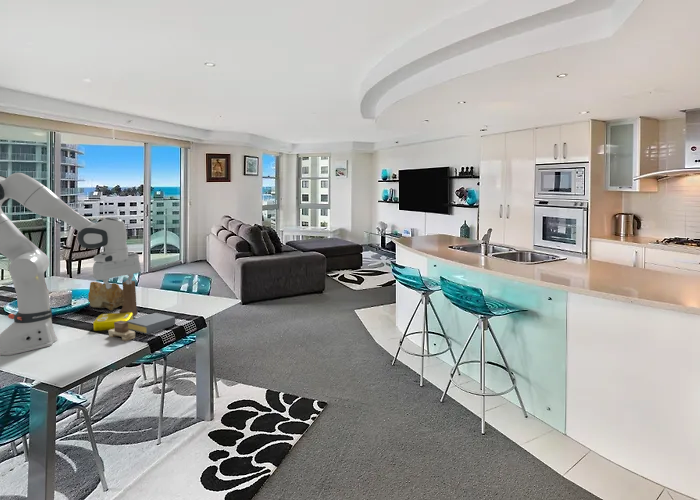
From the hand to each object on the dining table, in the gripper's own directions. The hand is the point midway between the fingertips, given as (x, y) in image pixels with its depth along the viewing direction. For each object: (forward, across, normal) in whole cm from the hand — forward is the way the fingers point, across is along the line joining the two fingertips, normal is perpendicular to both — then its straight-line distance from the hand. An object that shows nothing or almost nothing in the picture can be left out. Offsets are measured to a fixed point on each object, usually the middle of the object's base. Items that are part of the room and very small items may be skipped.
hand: (119, 286), depth 194 cm
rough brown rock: (+24, -28, -49) cm, 61 cm away
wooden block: (+24, -21, -25) cm, 40 cm away
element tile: (+24, -9, -19) cm, 32 cm away
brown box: (+20, 0, 0) cm, 20 cm away
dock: (+23, -16, -1) cm, 28 cm away
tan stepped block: (+23, 0, 0) cm, 23 cm away
